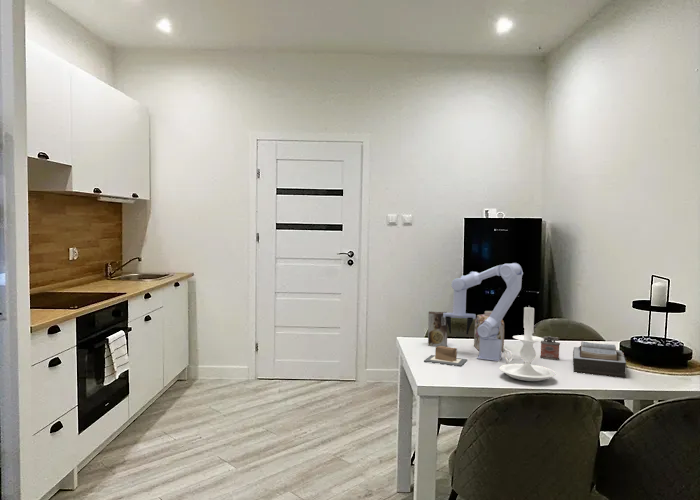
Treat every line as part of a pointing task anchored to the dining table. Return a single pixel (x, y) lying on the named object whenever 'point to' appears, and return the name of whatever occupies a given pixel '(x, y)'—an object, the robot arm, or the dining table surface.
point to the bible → (599, 360)
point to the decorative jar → (480, 320)
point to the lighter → (550, 348)
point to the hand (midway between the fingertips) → (458, 333)
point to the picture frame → (456, 363)
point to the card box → (446, 353)
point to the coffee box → (437, 329)
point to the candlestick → (527, 354)
